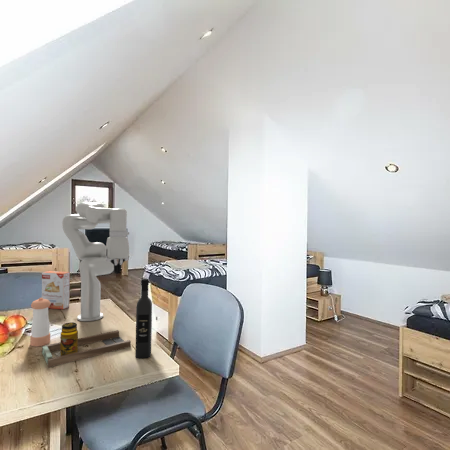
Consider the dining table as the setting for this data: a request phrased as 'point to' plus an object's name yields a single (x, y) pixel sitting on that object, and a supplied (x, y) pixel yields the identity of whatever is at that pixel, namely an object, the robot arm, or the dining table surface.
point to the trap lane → (75, 356)
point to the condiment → (68, 339)
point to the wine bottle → (143, 323)
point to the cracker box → (56, 288)
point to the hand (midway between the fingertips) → (117, 273)
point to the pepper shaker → (40, 323)
